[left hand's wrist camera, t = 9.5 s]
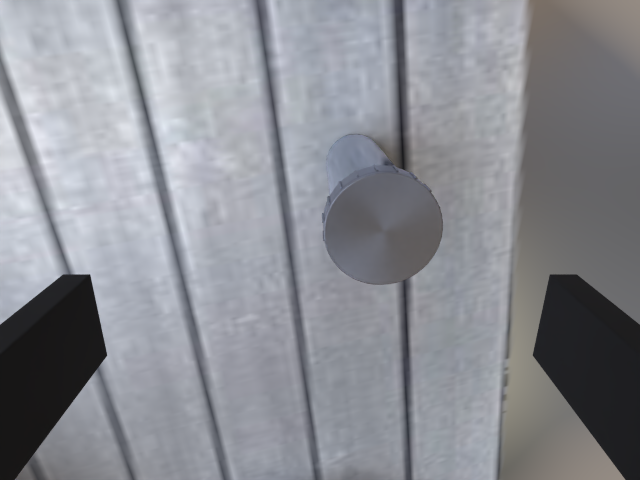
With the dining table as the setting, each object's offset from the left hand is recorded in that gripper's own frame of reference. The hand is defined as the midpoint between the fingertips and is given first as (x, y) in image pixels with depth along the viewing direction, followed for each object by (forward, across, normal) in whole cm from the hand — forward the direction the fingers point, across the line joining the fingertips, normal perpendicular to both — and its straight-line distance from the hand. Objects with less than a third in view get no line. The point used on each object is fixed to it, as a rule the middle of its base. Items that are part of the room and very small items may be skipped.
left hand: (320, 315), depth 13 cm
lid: (+9, +3, -1) cm, 10 cm away
